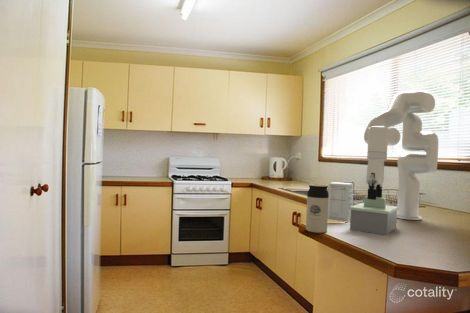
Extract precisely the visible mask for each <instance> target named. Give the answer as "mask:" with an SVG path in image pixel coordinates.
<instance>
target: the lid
mask: <svg viewBox="0 0 470 313" xmlns="http://www.w3.org/2000/svg"><path fill="white" fill-rule="evenodd" d="M398 209H399V207H398V205H387V197H383V196H382V197H376V200H372V199H368V195H365V196H364V198H363V202H360V203H358V204H355V205H353V206H351V207H349V210H358V211H366V212H374V213H383V214H390V213H392V212H394V211H396V210H398Z"/></svg>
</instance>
